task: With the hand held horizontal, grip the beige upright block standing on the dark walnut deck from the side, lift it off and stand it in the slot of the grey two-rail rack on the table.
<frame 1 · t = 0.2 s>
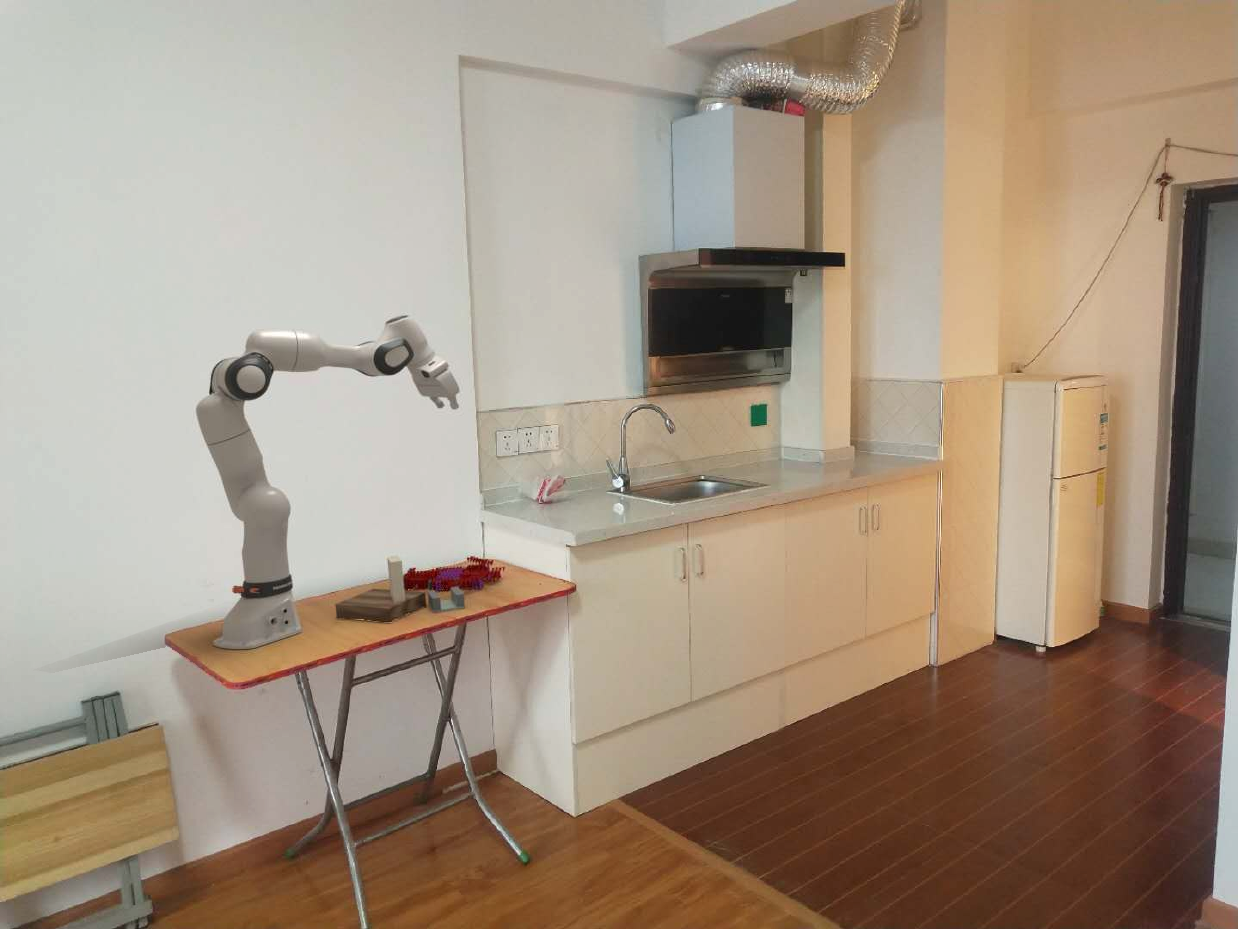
hand: (448, 407, 270), 54 cm above the table, tool tilted 30°, fingers open, 8 cm apart
deck: (382, 612, 255), on the table
rack: (446, 606, 257), on the table
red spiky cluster: (455, 585, 282), on the table
beige upright block: (397, 598, 254), point 4 cm above the table, touching deck
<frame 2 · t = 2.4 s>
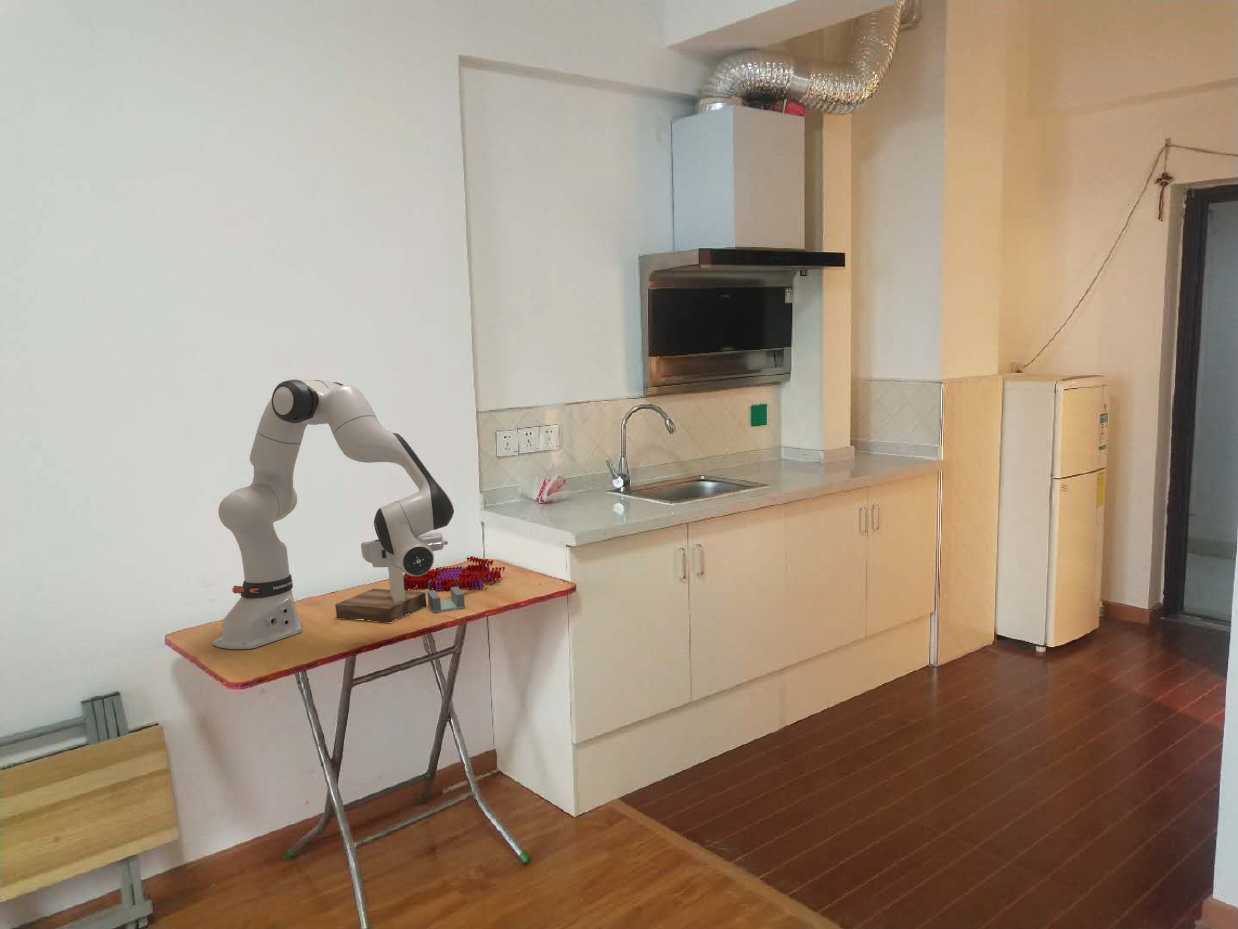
hand: (398, 540, 240), 22 cm above the table, tool horizontal, fingers open, 8 cm apart
nothing on the table moved.
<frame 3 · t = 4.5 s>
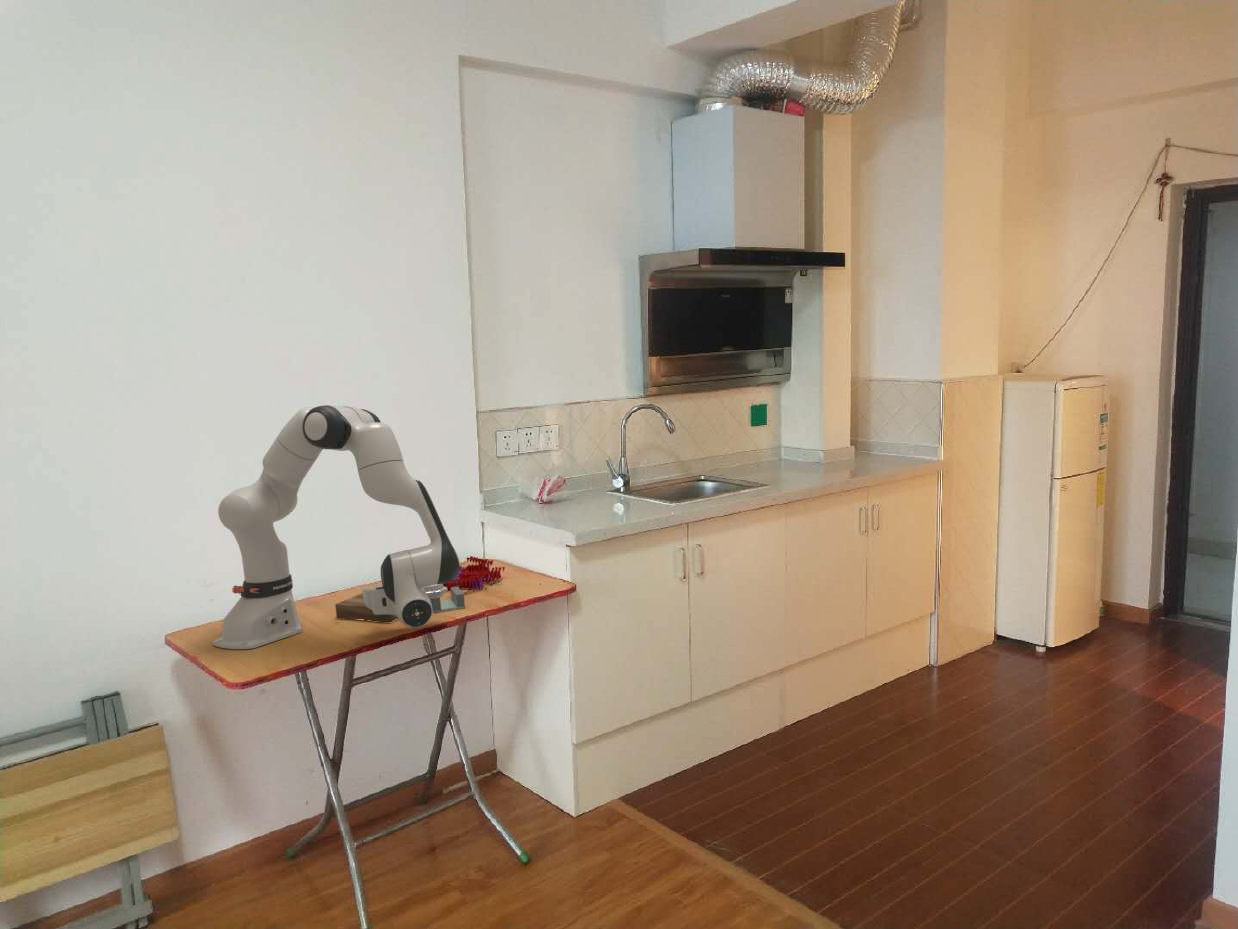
hand: (400, 585, 244), 10 cm above the table, tool horizontal, fingers open, 8 cm apart
nothing on the table moved.
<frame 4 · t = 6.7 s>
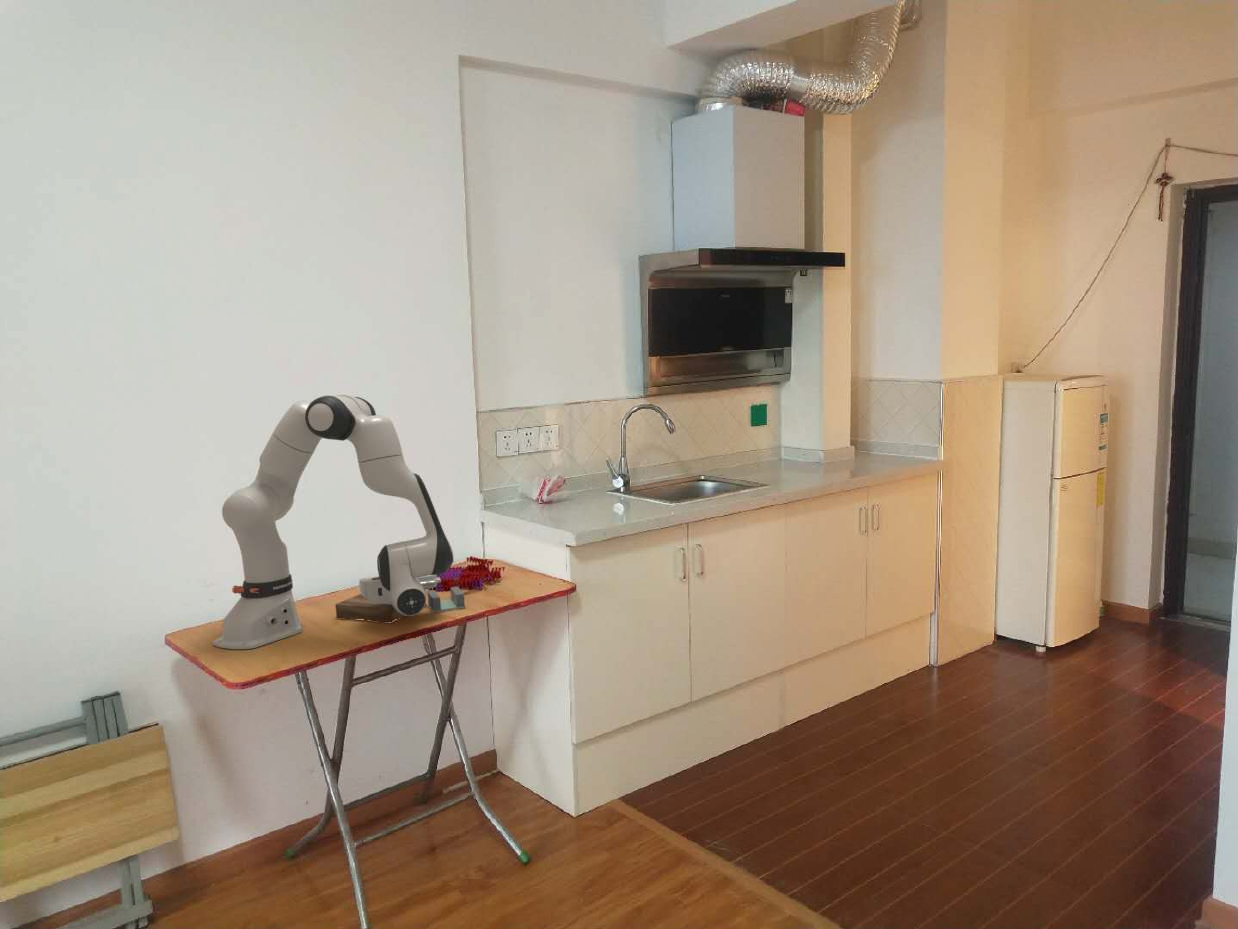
hand: (395, 576, 254), 10 cm above the table, tool horizontal, fingers closed on beige upright block, 3 cm apart
beige upright block: (397, 598, 254), point 4 cm above the table, touching deck, gripper
everything else where it was.
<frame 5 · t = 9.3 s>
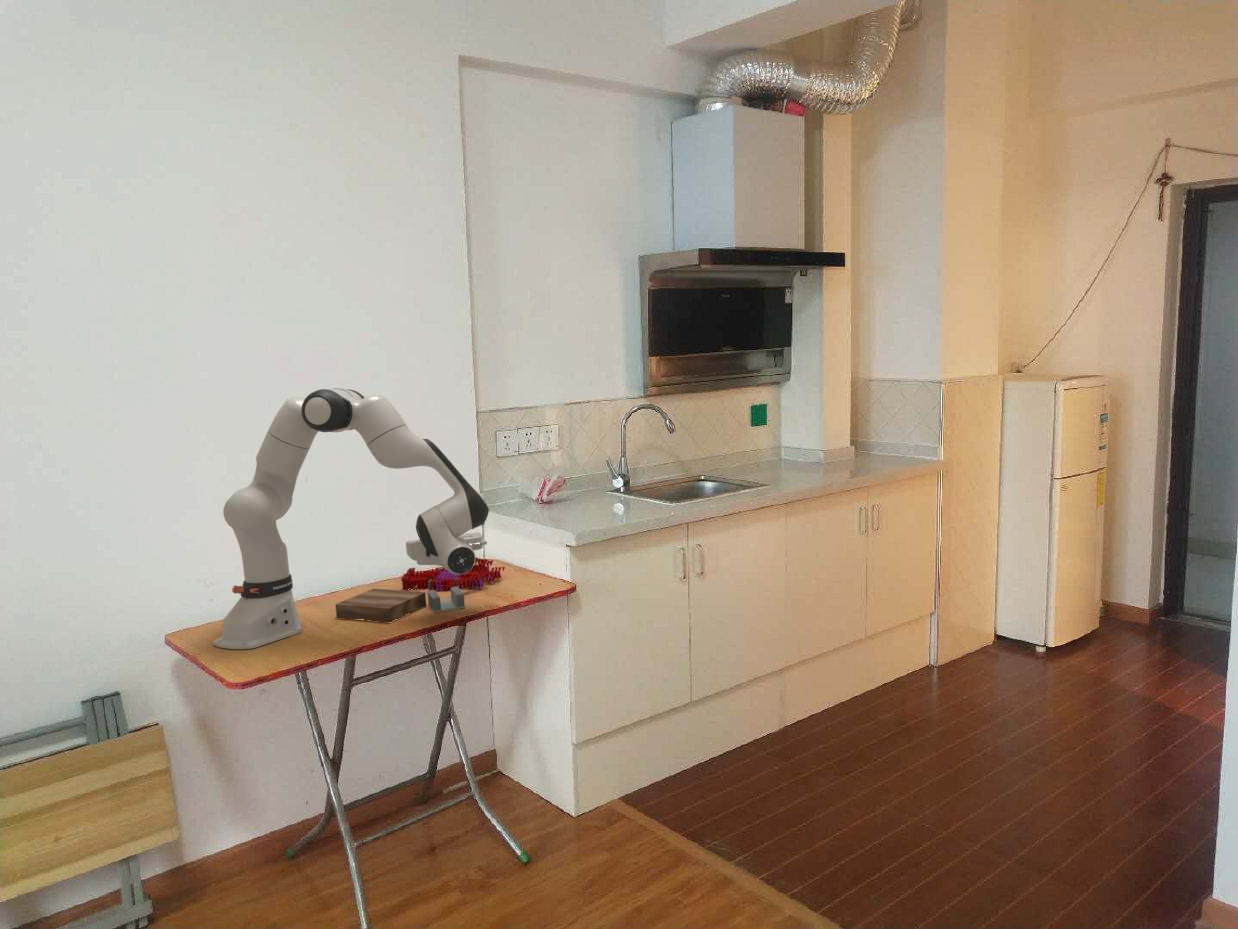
hand: (440, 539, 256), 19 cm above the table, tool horizontal, fingers closed on beige upright block, 3 cm apart
beige upright block: (442, 561, 256), point 13 cm above the table, touching gripper
everything else where it was.
when the fingers open (9 cm above the table, at t = 11.7 s): beige upright block drops 2 cm, resting on rack.
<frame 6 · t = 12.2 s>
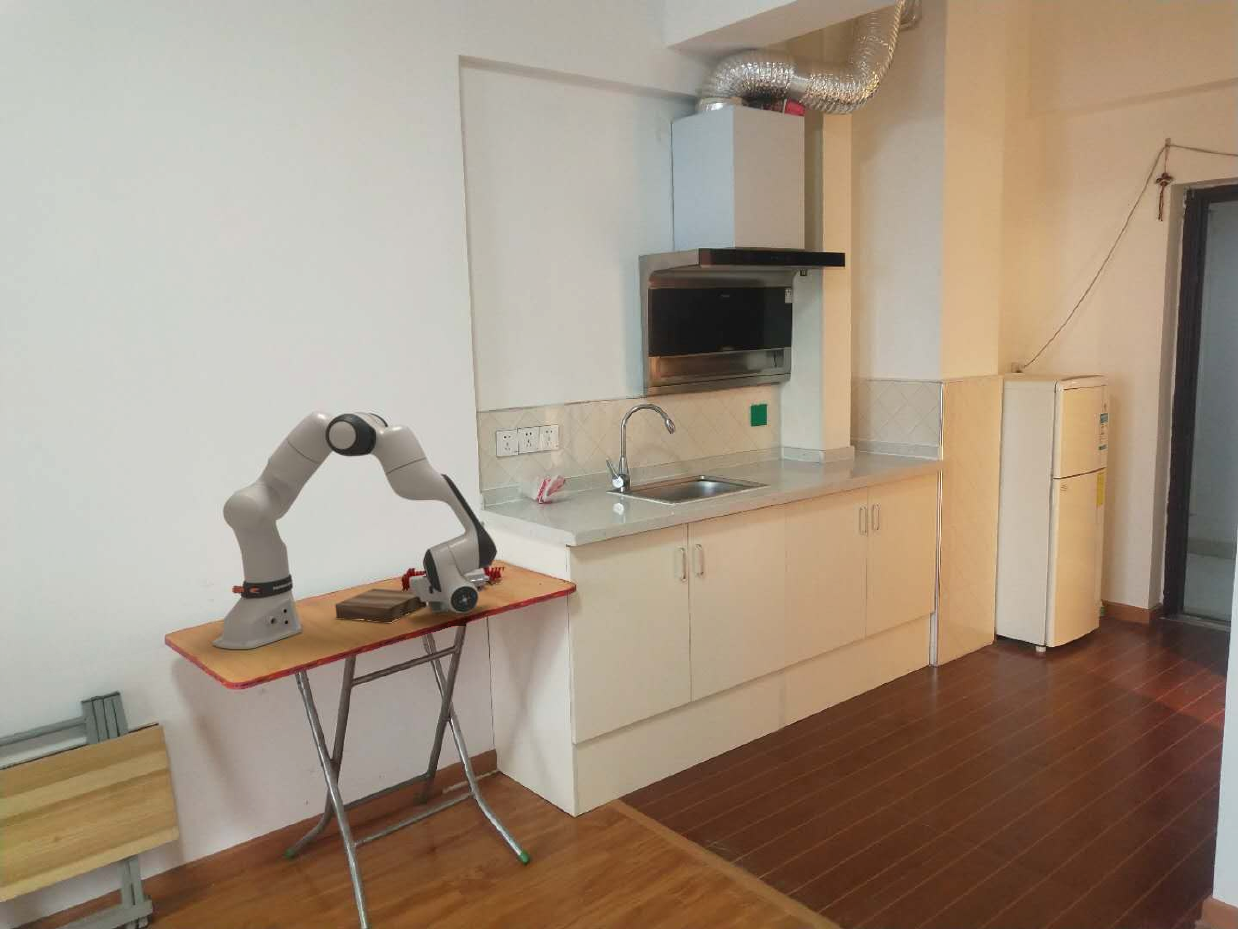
hand: (443, 574, 257), 9 cm above the table, tool horizontal, fingers open, 8 cm apart
beige upright block: (446, 604, 257), point 1 cm above the table, touching rack
everything else where it was.
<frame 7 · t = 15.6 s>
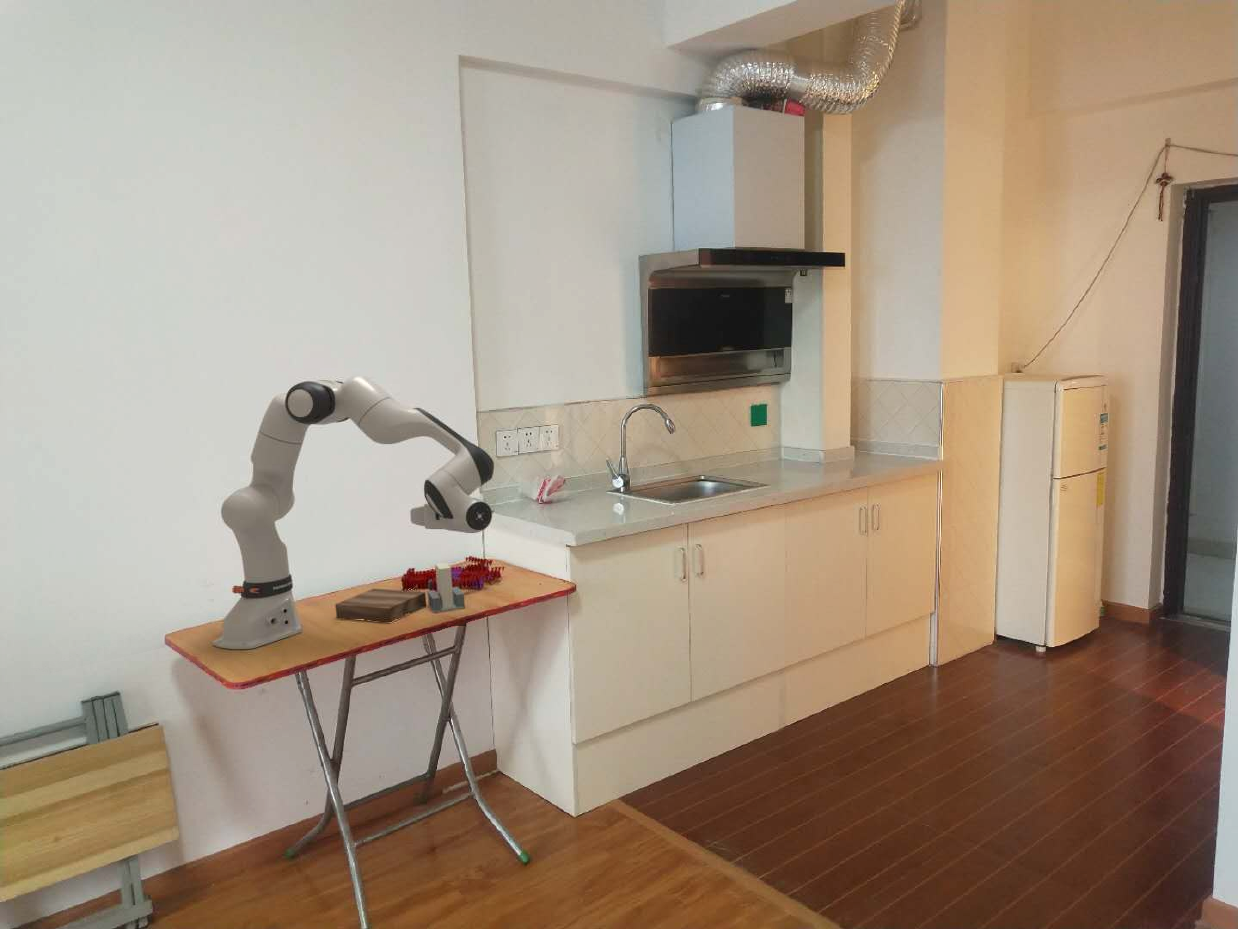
hand: (441, 512, 249), 27 cm above the table, tool horizontal, fingers open, 8 cm apart
nothing on the table moved.
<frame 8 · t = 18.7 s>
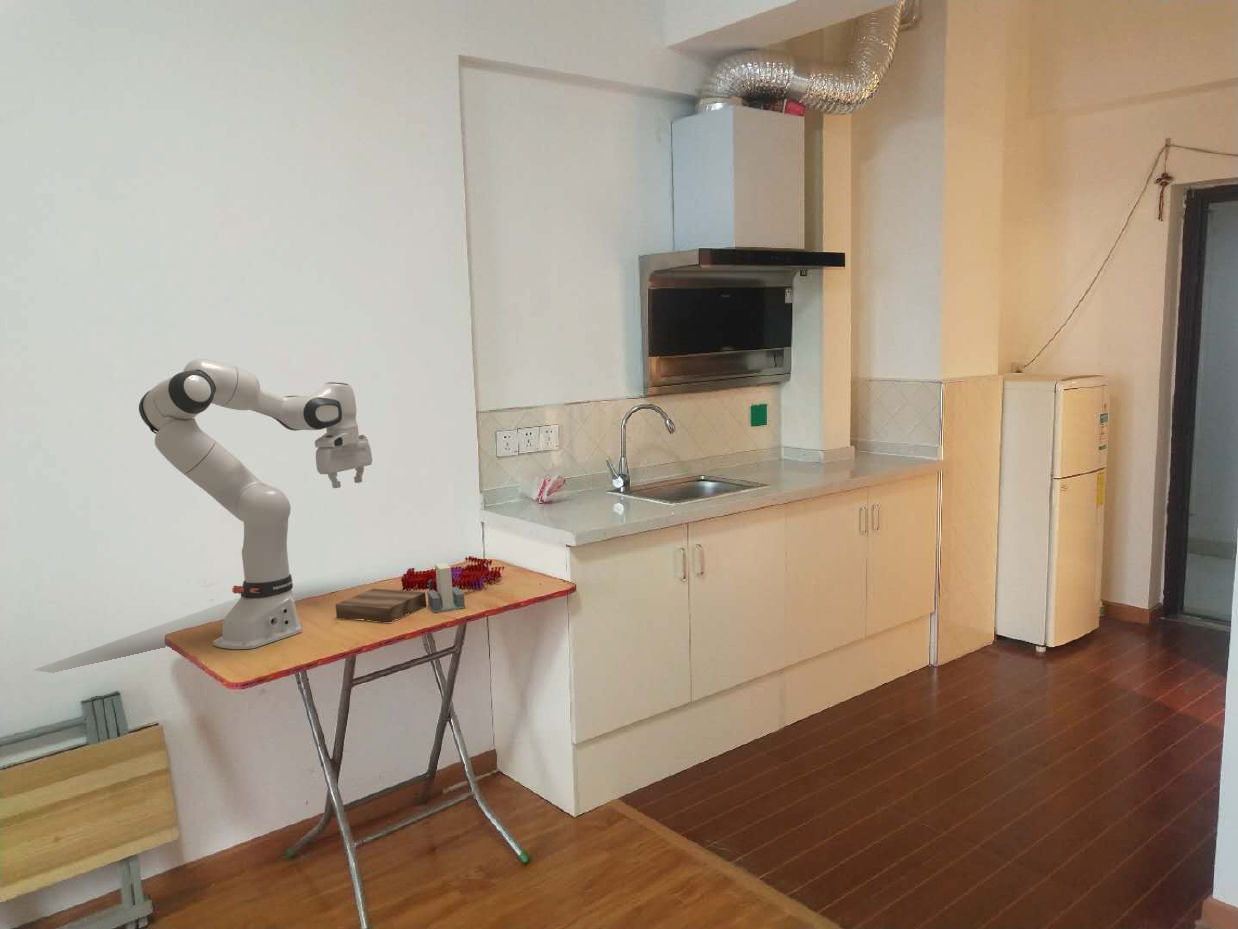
hand: (347, 485, 271), 33 cm above the table, tool pointing down, fingers open, 8 cm apart
nothing on the table moved.
at the end: beige upright block inside the target area on the rack (0.1 cm from its centre), point 0.6 cm above the rack's base; beige upright block tilted 0°; the gripper is holding nothing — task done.
